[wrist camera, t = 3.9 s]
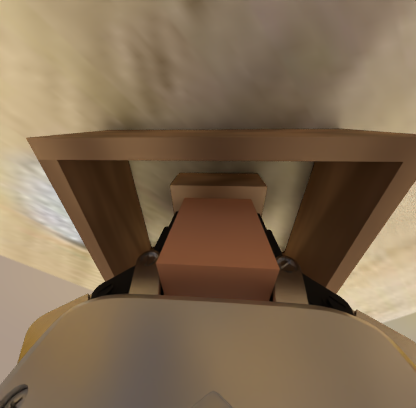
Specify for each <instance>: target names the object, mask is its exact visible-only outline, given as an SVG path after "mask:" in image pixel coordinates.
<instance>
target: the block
mask: <svg viewBox="0 0 416 408" xmlns="http://www.w3.org/2000/svg"><path fill="white" fill-rule="evenodd" d="M156 266H157V269H158V273H159V277H160V281H161V285H162V289H163V292H164V295H169V296H188V297H206V298H223V299H240V300H255V301H269V299H270V297H271V294H272V291H273V288H274V285H275V282H276V279H277V276H278V273H279V270H280V268H279V266H278V264H277V261H276V259H275V256H274V254H273V251H272V249H271V246H270V244H269V241H268V239H267V237H266V234H265V232H264V229H263V227H262V224H261V222H260V219H259V217H258V215H257V212H256V210H255V207H254V205H253V202H252V200H251V199H219V198H184V200H183V203H182V205H181V207H180V209H179V212H178V214H177V216H176V219H175V221H174V223H173V225H172V228H171V230H170V232H169V235H168V237H167V239H166V241H165V244H164V246H163V248H162V251H161V253H160V255H159V257H158V260H157V262H156Z"/></svg>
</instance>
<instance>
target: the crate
mask: <svg viewBox="0 0 416 408" xmlns="http://www.w3.org/2000/svg"><path fill="white" fill-rule="evenodd" d="M26 139H27V141H28V142H29V144H30V146H31V148H32V150H33V152H34V153H35V155H36V157H37V159H38V161H39V162H40V164H41V166H42V168H43V170H44V171H45V173H46V175H47V177H48V179H49V181H50V182H51V184H52V186H53V188H54V190H55V191H56V193H57V195H58V197H59V199H60V200H61V202H62V204H63V206H64V208H65V210H66V211H67V213H68V215H69V217H70V219H71V220H72V222H73V224H74V226H75V228H76V229H77V231H78V233H79V235H80V237H81V239H82V240H83V242H84V244H85V246H86V248H87V249H88V251H89V253H90V255H91V257H92V258H93V260H94V262H95V264H96V266H97V268H98V269H99V271H100V273H101V275H102V277H103V278H104V280H105V282H106V281H107V280H109V279H111V278H113V277H115V276H117V275H118V274H120V273H122V272H124V271H126V270H128V269H129V268H131V267H133V266H135V265H136V261H137V259H138V257H139V256H140V255H141V254H142V253H144V252H146V251H149V250H153V249H154V248H152V247H151V245H150V241H149V238H148V234H147V230H146V226H145V222H144V219H143V215H142V211H141V207H140V204H139V200H138V196H137V192H136V188H135V185H134V181H133V177H132V173H131V170H130V166H129V162H128V160H179V161H315V163H314V166H313V169H312V172H311V175H310V178H309V181H308V184H307V187H306V190H305V193H304V196H303V199H302V202H301V205H300V208H299V211H298V214H297V217H296V220H295V223H294V226H293V229H292V232H291V235H290V238H289V241H288V244H287V247H286V250H285V253H282V255H283V256H288V257H291V258H292V259H294V260H295V261H297V262H298V264H299V265H300V267H301V271H302V273H303V274H304V275H306V276H308V277H309V278H311V279H312V280H314V281H316V282H317V283H319V284H321V285H322V286H324V287H325V288H327V289H329V290H330V291H332V292H333V293H335V294H336V293H337V292H338V290H339V289H340V288H341V286H342V285H343V283H344V282H345V280H346V279H347V278H348V276H349V275H350V273H351V272H352V270H353V269H354V268H355V266H356V265H357V263H358V262H359V260H360V259H361V258H362V256H363V255H364V253H365V252H366V251H367V249H368V248H369V246H370V245H371V243H372V242H373V241H374V239H375V238H376V236H377V235H378V233H379V232H380V231H381V229H382V228H383V226H384V225H385V223H386V222H387V221H388V219H389V218H390V216H391V215H392V213H393V212H394V211H395V209H396V208H397V206H398V205H399V203H400V202H401V201H402V199H403V198H404V196H405V195H406V193H407V192H408V191H409V189H410V188H411V186H412V185H413V183H414V182H415V181H416V134H405V133H391V132H378V131H364V130H350V129H222V130H105V131H94V132H84V133H73V134H62V135H52V136H41V137H30V138H26ZM170 189H171V196H172V203H173V211H174V215H175V212H176V211H179V209H180V207H181V205H182V203H183V200H184V198H219V199H251V200H252V202H253V205H254V207H255V210H256V212H257V213H259V214H260V216H261V217H262V212H263V207H264V202H265V197H266V191H267V186H266V184H265V183H264V181H263V180H262V179H261V177H260V176H259V175H258V174H248V173H179V174H178V175H177V176H176V178H175V179H174V181H173V182H172V183H171V185H170Z"/></svg>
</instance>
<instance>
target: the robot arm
mask: <svg viewBox="0 0 416 408" xmlns="http://www.w3.org/2000/svg"><path fill="white" fill-rule="evenodd" d="M178 212H179V211H176V212H175V215H174V217H173V219H172V221H171V223H170V225H169V227H165V228H164V230H163V232H162V233H161V235H160V237H159V239H158V241H157V243H156V245H155V247H154V249H153V250H149V251H146V252H144V253H142V254H141V255H140V256H139V257H138V259H137V261H136V265H135V266H133V267H131V268H129V269H128V270H126V271H124V272H122V273H120V274H118V275H117V276H115V277H113V278H111V279H109V280H107V281H106V282H104V283H102V284H101V285H99V286H98V287H97V288H96V289H95V290H94V292H93V293H92V294H91V295H89V294H86V295H84V296H81V297H79V298H77V299H75V300H73V301H71V302H69V303H67V304H65V305H63V306H61V307H59V308H57V309H54V310H52V311H50V312H48V313H46V314H45V315H43V316H41V317H40V318H38V319H37V320H36V321H35V322H34V323H33V324H32V325H31V326H30V328H29V329H28V331H27V333H26V336H25V339H24V342H23V346H22V349H21V353H20V356H19V360H18V363H17V365H16V366H15V368H14V369H13V370H12V371H11V372H10V374H9V375H8V376H7V377H6V378H5V380H4V381H3V382H2V383H1V385H0V408H416V343H415V342H414V341H412V340H411V339H409V338H407V337H406V336H404V335H402V334H400V333H398V332H396V331H394V330H393V329H391V328H389V327H387V326H386V325H384V324H382V323H380V322H378V321H377V320H375V319H373V318H371V317H369V316H368V315H366V314H364V313H362V312H360V311H359V310H356V311H354V310H352V309H351V307H350V306H349V304H348V303H347V302H346V301H345V300H344V299H342V298H341V297H340V296H338V295H337V294H335V293H333V292H332V291H330V290H329V289H327V288H325V287H324V286H322V285H321V284H319V283H317V282H316V281H314V280H312V279H311V278H309V277H308V276H306V275H304V274H303V273H302V271H301V267H300V265H299V264H298V262H297V261H295V260H294V259H292V258H291V257H288V256H283V255H282V253H281V251H280V249H279V246H278V244H277V242H276V240H275V238H274V236H273V234H272V232H271V230H267V229H266V227H265V225H264V223H263V220H262V218H261V216H260V214H259V213H257V215H258V217H259V219H260V222H261V224H262V227H263V229H264V232H265V234H266V237H267V239H268V241H269V244H270V246H271V249H272V251H273V254H274V256H275V259H276V261H277V264H278V266H279V268H280V270H279V273H278V276H277V279H276V282H275V285H274V288H273V291H272V294H271V297H270V299H269V301H255V300H240V299H223V298H206V297H188V296H169V295H164V292H163V289H162V285H161V281H160V277H159V273H158V269H157V266H156V262H157V260H158V257H159V255H160V253H161V251H162V248H163V246H164V244H165V241H166V239H167V237H168V235H169V232H170V230H171V228H172V225H173V223H174V221H175V219H176V216H177V214H178Z"/></svg>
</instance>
